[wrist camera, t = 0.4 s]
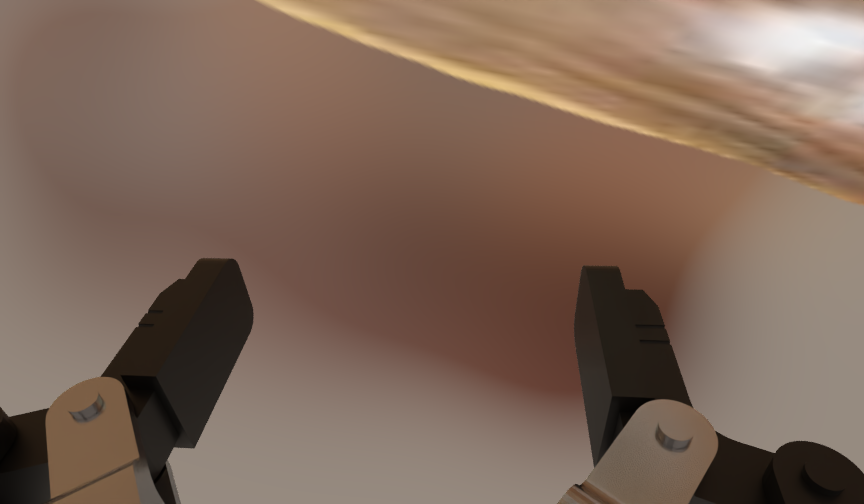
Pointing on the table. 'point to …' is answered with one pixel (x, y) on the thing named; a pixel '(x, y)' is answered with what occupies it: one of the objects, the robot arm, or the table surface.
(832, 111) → the table surface
